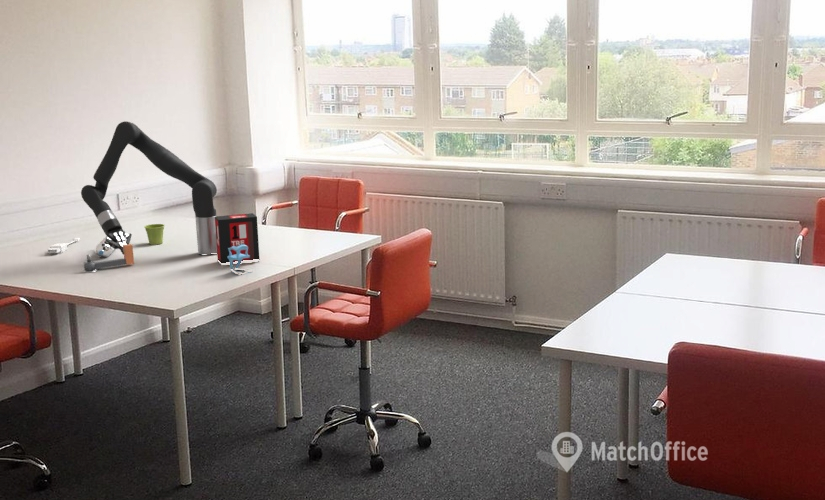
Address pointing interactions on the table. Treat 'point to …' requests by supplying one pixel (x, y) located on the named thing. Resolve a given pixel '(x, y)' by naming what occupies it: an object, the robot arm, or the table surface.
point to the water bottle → (103, 249)
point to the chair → (237, 255)
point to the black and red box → (236, 235)
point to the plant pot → (155, 233)
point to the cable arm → (126, 260)
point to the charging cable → (61, 246)
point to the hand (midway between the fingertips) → (127, 254)
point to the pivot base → (89, 262)
